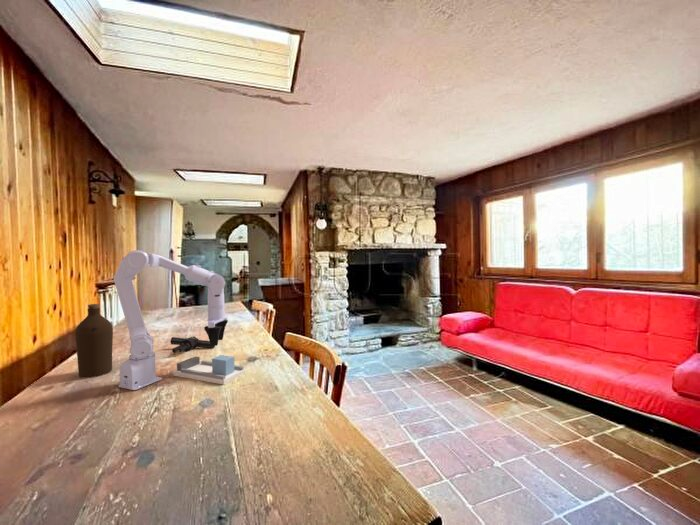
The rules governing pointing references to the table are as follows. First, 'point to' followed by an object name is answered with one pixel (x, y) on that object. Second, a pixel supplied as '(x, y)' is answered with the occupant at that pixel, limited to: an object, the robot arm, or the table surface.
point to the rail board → (205, 371)
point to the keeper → (223, 365)
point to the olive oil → (94, 344)
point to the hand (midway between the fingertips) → (217, 342)
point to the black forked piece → (189, 344)
